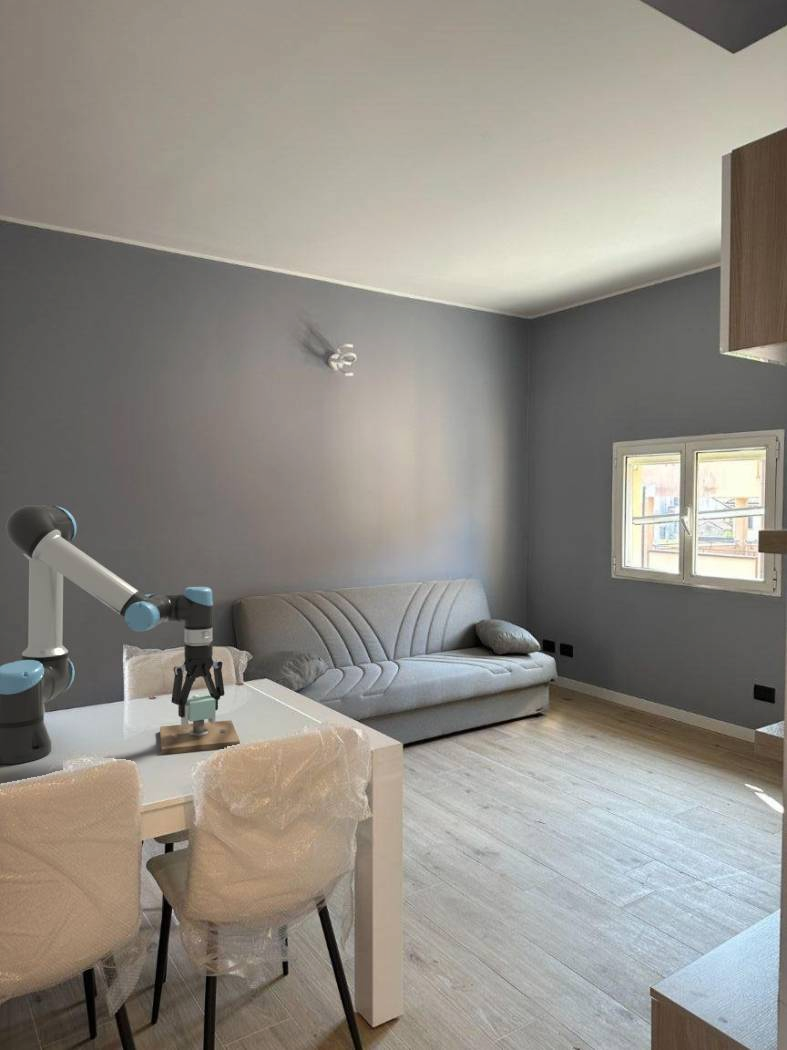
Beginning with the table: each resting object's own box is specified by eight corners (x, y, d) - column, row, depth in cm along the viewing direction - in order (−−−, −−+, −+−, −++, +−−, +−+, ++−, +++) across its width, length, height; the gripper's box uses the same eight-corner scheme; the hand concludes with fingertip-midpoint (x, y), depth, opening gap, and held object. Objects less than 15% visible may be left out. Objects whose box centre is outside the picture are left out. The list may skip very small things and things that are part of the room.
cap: (215, 717, 200) (215, 698, 200) (190, 721, 196) (190, 702, 196) (204, 710, 207) (204, 691, 207) (180, 714, 203) (180, 695, 203)
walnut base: (161, 754, 188) (161, 731, 188) (160, 731, 207) (160, 710, 207) (239, 746, 195) (239, 724, 195) (231, 725, 214) (231, 705, 214)
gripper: (170, 650, 191) (170, 736, 191) (238, 640, 205) (237, 721, 205) (157, 645, 196) (157, 729, 197) (224, 636, 210) (224, 715, 211)
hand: (198, 725), depth 201 cm, fingers closed on cap, 7 cm apart
